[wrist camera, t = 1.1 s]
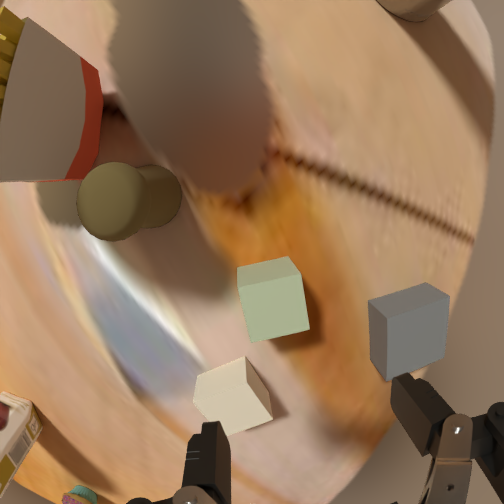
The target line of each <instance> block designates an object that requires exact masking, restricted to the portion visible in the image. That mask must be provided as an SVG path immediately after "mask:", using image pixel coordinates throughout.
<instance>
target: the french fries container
mask: <svg viewBox="0 0 504 504" xmlns="http://www.w3.org/2000/svg"><path fill="white" fill-rule="evenodd" d="M0 34H2V35H0V182H18V181H22V182H53V181H66V180H82V179H84V178H85V177H86V175H87V174H88V173H89V172H90V169H91V167H92V165H93V163H94V161H95V159H96V157H97V155H98V153H99V140H100V129H101V119H102V111H103V103H104V100H103V95H102V90H101V85H100V79H99V74H98V70H97V69H96V68H94V67H93V66H92V65H91V64H89V63H88V62H87V61H86V60H84V59H83V58H82V57H80V56H79V55H78V54H77V53H75V52H74V51H73V50H71V49H70V48H69V47H67V46H66V45H65V44H64V43H62V42H61V41H60V40H58V39H57V38H56V37H54V36H53V35H52V34H50V33H49V32H48V31H46V30H45V29H44V28H42V27H41V26H39V25H38V24H37V23H35V22H34V21H33V20H31V19H30V18H28V17H26V18H24V19H22V20H21V19H19V18H18V17H17V16H16V15H14V14H13V13H12V12H11V11H9V10H8V9H7V8H6V7H5V6H4V7H2V8H0Z"/></svg>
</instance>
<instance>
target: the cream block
mask: <svg viewBox="0 0 504 504" xmlns="http://www.w3.org/2000/svg"><path fill="white" fill-rule="evenodd" d="M193 403H194V405H195V406H196V407H197V408H198V409H199V411H200V412H201V413H202V414H203V415H204V416H205V418H206V419H207V420H208V421H209V422H213V421H220V423H221V425H222V427H223V430H224V432H225V434H226V436H228V435H231V434H234V433H237V432H240V431H243V430H246V429H249V428H252V427H255V426H257V425H260V424H263V423H266V422H268V421H271V420H273V415H272V409H271V403H270V397H269V392H268V390H267V389H266V387H265V386H264V384H263V383H262V381H261V380H260V378H259V377H258V375H257V374H256V372H255V371H254V369H253V367H252V366H251V364H250V363H249V361H248V360H247V358H246V357H245V356H243V357H241V358H238V359H236V360H234V361H232V362H229V363H227V364H224V365H222V366H220V367H217V368H215V369H212V370H210V371H207V372H205V373H202V374H200V375H198V376H197V381H196V387H195V393H194V399H193Z"/></svg>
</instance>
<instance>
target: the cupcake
mask: <svg viewBox="0 0 504 504" xmlns="http://www.w3.org/2000/svg"><path fill="white" fill-rule="evenodd" d="M62 502H63V504H97V496H96V494H95V493H94V492H93V491H91V490H90V489H88V488H86V487H83V486H79V485H78V486H76V487H75V488H74V489H73V490H71V491H70V492H68V493H64V494H63V499H62Z"/></svg>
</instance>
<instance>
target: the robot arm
mask: <svg viewBox="0 0 504 504" xmlns="http://www.w3.org/2000/svg"><path fill="white" fill-rule="evenodd" d="M377 1H378V2H379V3H380V4H381V5H382V6H383V7H384V8H386V9H387V10H388V11H390V12H391V13H393V14H395V15H396V16H398V17H400V18H403V19H405V20H408V21H412V22H420V21H423V20H425V19H427V18H428V17H429V16H431V15H432V14H433V13H435V12H436V11H437V10H439V9H440V8H442V7H443V6H445V5H446V4H447V3H449V2H450V1H452V0H377ZM390 402H391V407H392V410H393V412H394V413H395V415H396V417H397V418H398V420H399V421H400V423H401V424H402V426H403V427H404V429H405V430H406V432H407V433H408V435H409V437H410V438H411V440H412V441H413V443H414V444H415V446H416V448H417V449H418V451H419V452H420V454H421V455H422V457H423V456H425V455H427V454H429V453H430V454H431V455H432V460H431V464H430V468H429V472H428V475H427V479H426V483H425V487H424V489H423V492H422V495H421V498H420V500H419V503H418V504H465V503H466V498H467V493H468V488H469V482H470V476H471V469H472V461H471V459H474V458H475V460H476V462H477V463H478V465H479V466H480V468H481V469H482V471H483V472H484V474H485V476H486V477H487V479H488V480H489V481H490V483H491V485H492V487H493V488H494V490H495V491H496V493H497V495H498V497H499V498H500V500H501V502H502V503H503V504H504V402H498V403H495V404H493V405H492V406H491V407H490V408H489V410H488V412H487V414H484V415H480V416H476V417H472V418H470V417H468V416H467V415H465V414H456V413H455V412H454V411H453V410H452V408H451V407H450V406H449V405H448V404H447V403H446V402H445V400H444V399H443V398H442V397H441V396H440V395H439V394H438V393H437V391H436V390H434V388H433V387H432V386H431V385H430V384H429V382H427V381H425V380H423V379H421V378H418V379H416V380H415V379H414V378H413V377H412V376H411V375H410V373H408V372H406V373H404V374H401V375H399V376H396V377H393V379H392V386H391V399H390ZM126 504H231V450H230V445H229V441H228V439H227V437H226V434H225V432H224V430H223V427H222V425H221V423H220V421H213V422H204V423H203V424H202V431H201V434H194V435H193V436H192V438H191V439H190V441H189V442H188V447H187V453H186V460H185V467H184V474H183V482H182V487H181V489H179V490H178V491H177V492H176V493H175V494H174V496H173V497H171V498H168V499H165V500H161V501H156V502H151V501H150V500H148V499H146V498H134V499H132V500H130V501H128V502H127V503H126ZM392 504H398V503H397V502H394V503H392Z"/></svg>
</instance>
